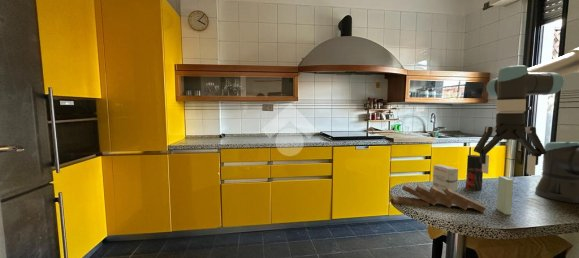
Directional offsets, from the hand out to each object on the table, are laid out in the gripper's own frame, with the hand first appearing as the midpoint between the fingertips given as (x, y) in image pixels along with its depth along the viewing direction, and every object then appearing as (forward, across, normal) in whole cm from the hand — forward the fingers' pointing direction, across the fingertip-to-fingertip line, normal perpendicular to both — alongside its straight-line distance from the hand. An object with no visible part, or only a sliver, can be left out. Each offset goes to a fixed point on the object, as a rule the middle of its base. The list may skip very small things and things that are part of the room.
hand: (507, 173), depth 89 cm
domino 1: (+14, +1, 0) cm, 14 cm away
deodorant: (+14, -2, -28) cm, 31 cm away
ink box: (+14, +14, -16) cm, 25 cm away
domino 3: (+12, +13, 0) cm, 18 cm away
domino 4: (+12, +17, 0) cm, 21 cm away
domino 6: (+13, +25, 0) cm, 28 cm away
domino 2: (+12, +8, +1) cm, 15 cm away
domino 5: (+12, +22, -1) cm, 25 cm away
